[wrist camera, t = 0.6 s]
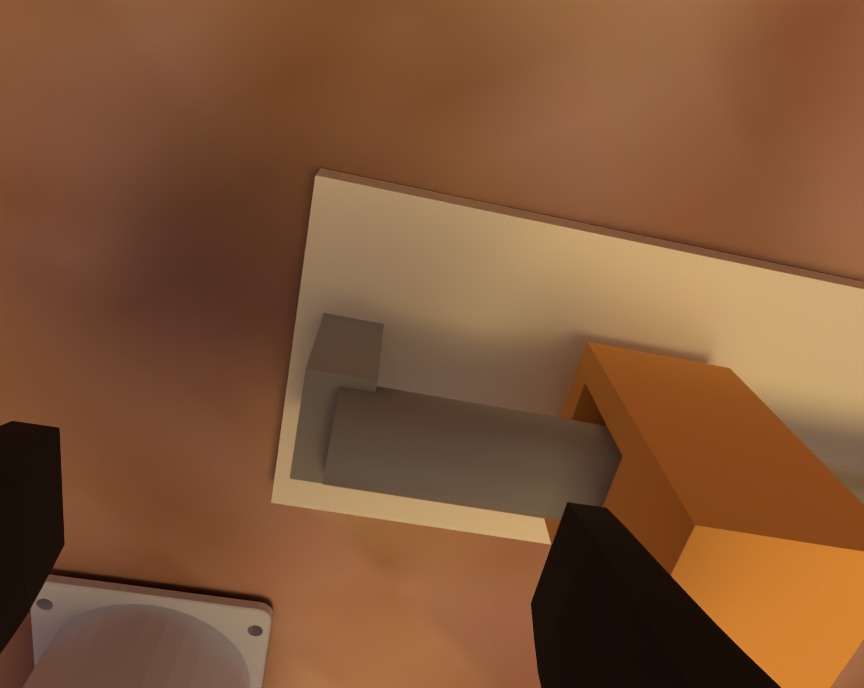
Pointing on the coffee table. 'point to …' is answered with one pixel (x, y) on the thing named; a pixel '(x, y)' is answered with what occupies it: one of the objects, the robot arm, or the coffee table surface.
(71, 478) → the coffee table surface
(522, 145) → the coffee table surface
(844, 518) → the orange block with hole
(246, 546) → the coffee table surface
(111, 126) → the coffee table surface
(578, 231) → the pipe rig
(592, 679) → the robot arm
